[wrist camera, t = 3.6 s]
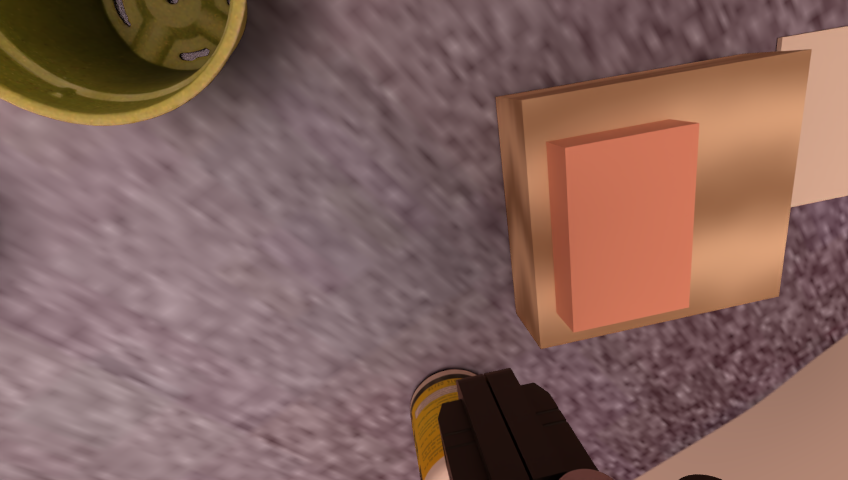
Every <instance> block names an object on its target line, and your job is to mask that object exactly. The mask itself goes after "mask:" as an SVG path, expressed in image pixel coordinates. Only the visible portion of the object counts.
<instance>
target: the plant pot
mask: <svg viewBox="0 0 848 480" xmlns="http://www.w3.org/2000/svg"><path fill="white" fill-rule="evenodd" d="M122 3H123V5H124V9H125V12H126V15H127V16H128V21H129V22H130V24H131V26H130V27H129V26H128V25H126V24H125V23H124V22H123V21H122V19H121V18H120V17H119V15H118V13H117V11H116V9H115V5H114V1H113V0H0V98H1V99H3V100H5V101H7V102H9V103H11V104H13V105H15V106H18V107H20V108H22V109H25V110H27V111H30V112H33V113H35V114H38V115H42V116H45V117H49V118H52V119H56V120H60V121H65V122H69V123H75V124H83V125H94V126H110V125H123V124H130V123H135V122H140V121H145V120H148V119H152V118H155V117H158V116H161V115H163V114H165V113H168V112H170V111H172V110H174V109H176V108H178V107H180V106H181V105H183V104H185V103H187V102H188V101H190V100H191V99H192V98H194V97H195V96H197V95H198V94H199V93H200V92H201V91H202V90H203V89H204V88H205V87H207V86H208V85H209V84H210V83H211V82H212V81H213V79H214V78H215V77H216V76H217V75H218V73H219V72H220V71H221V69H222V68H223V67H224V65H225V64H226V62H227V60H228V58H229V57H230V55H231V54H232V52H233V51H234V50H235V48H236V47H237V45H238V43H239V42H240V40H241V37H242V35H243V32H244V30H245V26H246V20H247V0H230V6H229V5H228V4H227V0H178V2H177V3H176V4H170V3H168V2H167V0H122ZM204 48H207V49H209V50H210V51H209V54H208V56H203V57H198V58H196V59H195V60H193V61H186V60H182V59H181V58H180V57H179V55H180V53H188V52H195V51H199V50H202V49H204Z"/></svg>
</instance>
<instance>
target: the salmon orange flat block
mask: <svg viewBox="0 0 848 480" xmlns="http://www.w3.org/2000/svg"><path fill="white" fill-rule="evenodd" d="M698 139H699V123H696V122H688V121H680V120H672V119H667V120H662V121H656V122H651V123H645V124H640V125H635V126H629V127H624V128H618V129H613V130H607V131H602V132H597V133H591V134H586V135H580V136H575V137H569V138H564V139H559V140H553V141H548V142H546V147H547V164H548V180H549V197H550V213H551V230H552V246H553V263H554V279H555V296H556V312H557V314H558V315H559V316H560V318H561V319H562V320H563V321H564V322H565V323H566V325H567V326H568V327H569V328H570V329H571V330H572V332H573V333H575V332H579V331H584V330H589V329H593V328H598V327H602V326H607V325H611V324H616V323H620V322H625V321H629V320H634V319H638V318H643V317H648V316H652V315H657V314H661V313H666V312H670V311H675V310H679V309H684V308H688V307H689V299H690V281H691V263H692V245H693V228H694V210H695V192H696V175H697V157H698Z"/></svg>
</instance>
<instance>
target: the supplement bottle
mask: <svg viewBox="0 0 848 480" xmlns="http://www.w3.org/2000/svg"><path fill="white" fill-rule="evenodd" d="M471 376H476V374H474V373H471V372H469V371H465V370H458V369H452V370H445V371H442V372H439V373H436V374H434V375H432V376H430V377H429V378H427V379H426V380H425V381H424V382H423V383H422V384H421V385H420V386H419V387H418V388H417V390H416V391H415V393H414V395H413V397H412V400H411V405H410V415H411V422H412V428H413V435H414V441H415V447H416V454H417V459H418V465H419V472H420V479H421V480H450V479H449V475H448V471H447V467H446V463H445V457H444V451H443V446H442V440H441V434H440V429H439V423H438V416H439V412H440V409H441V405H442V403H446V402H450V401H455V400H459V398H458V392H457V385H456V380H457V379H462V378H466V377H471Z"/></svg>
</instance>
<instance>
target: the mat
mask: <svg viewBox="0 0 848 480" xmlns="http://www.w3.org/2000/svg"><path fill="white" fill-rule="evenodd" d="M807 49H812V52H811V59H810V66H809V74H808V81H807V89H806V96H805V104H804V111H803V119H802V126H801V134H800V141H799V148H798V156H797V163H796V171H795V178H794V186H793V193H792V201H791V207H794V206H799V205H804V204H809V203H813V202H818V201H823V200H828V199H833V198H838V197H843V196H848V26H845V27H839V28H833V29H828V30H822V31H816V32H810V33H804V34H799V35H793V36H787V37H781V38H778V41H777V50H776V52H777V51H792V50H807Z"/></svg>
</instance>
